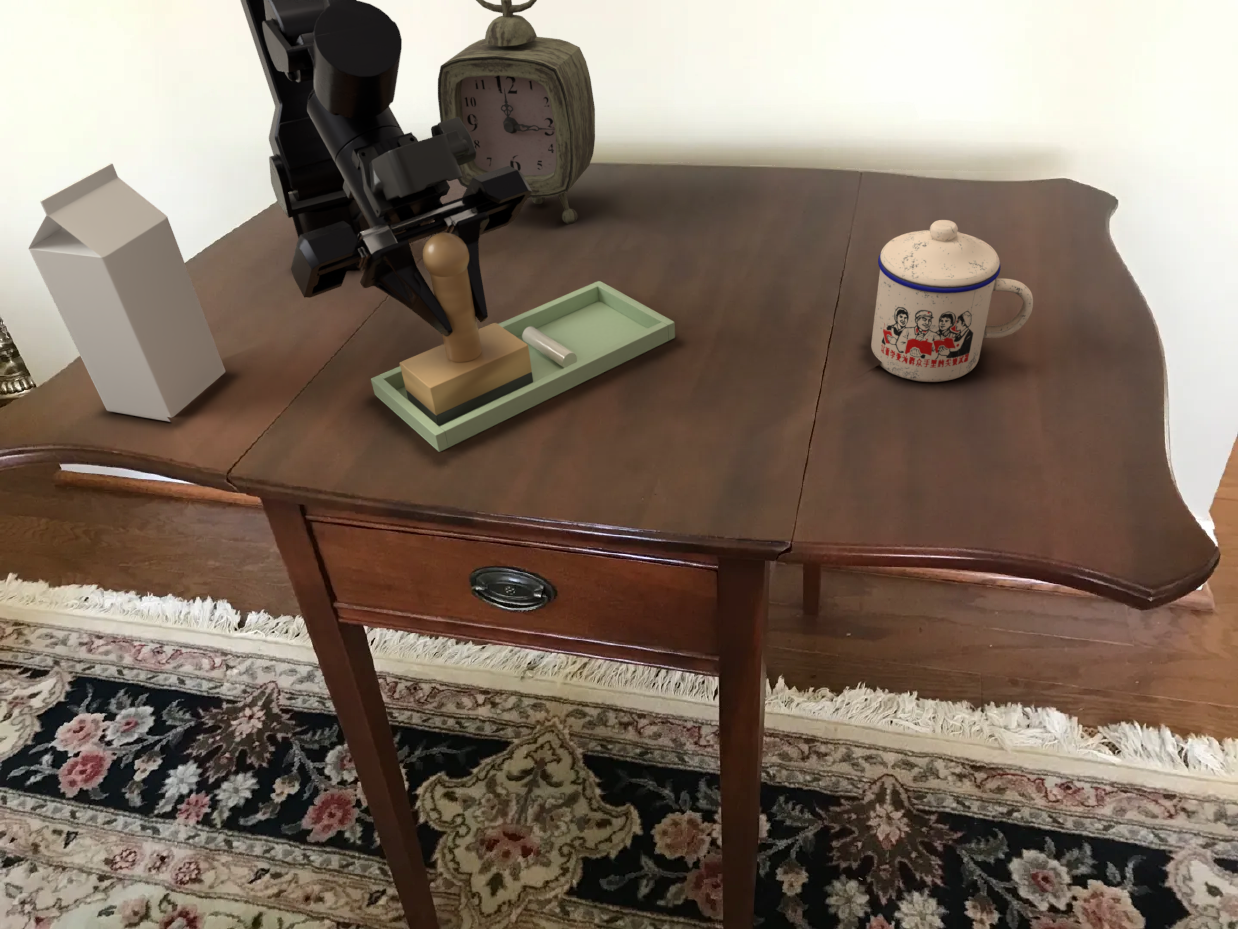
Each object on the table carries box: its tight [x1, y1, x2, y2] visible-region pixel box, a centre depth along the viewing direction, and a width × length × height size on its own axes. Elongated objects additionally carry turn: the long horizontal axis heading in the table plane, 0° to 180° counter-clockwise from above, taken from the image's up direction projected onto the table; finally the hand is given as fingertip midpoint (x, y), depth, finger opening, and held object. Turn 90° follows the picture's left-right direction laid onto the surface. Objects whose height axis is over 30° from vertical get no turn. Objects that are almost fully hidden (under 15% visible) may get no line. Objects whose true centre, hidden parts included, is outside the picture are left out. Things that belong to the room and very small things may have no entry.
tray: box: [370, 280, 676, 453], centre depth 81 cm, size 24×11×2 cm, turn 128°
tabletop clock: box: [437, 0, 596, 225], centre depth 100 cm, size 14×9×25 cm, turn 73°
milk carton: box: [28, 163, 226, 423], centre depth 76 cm, size 7×7×19 cm
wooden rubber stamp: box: [399, 233, 533, 426], centre depth 74 cm, size 9×5×14 cm, turn 128°
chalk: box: [522, 326, 577, 368], centre depth 82 cm, size 6×2×2 cm
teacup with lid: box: [870, 219, 1034, 383], centre depth 76 cm, size 12×9×12 cm
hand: (467, 327), depth 73 cm, fingers closed on wooden rubber stamp, 3 cm apart
